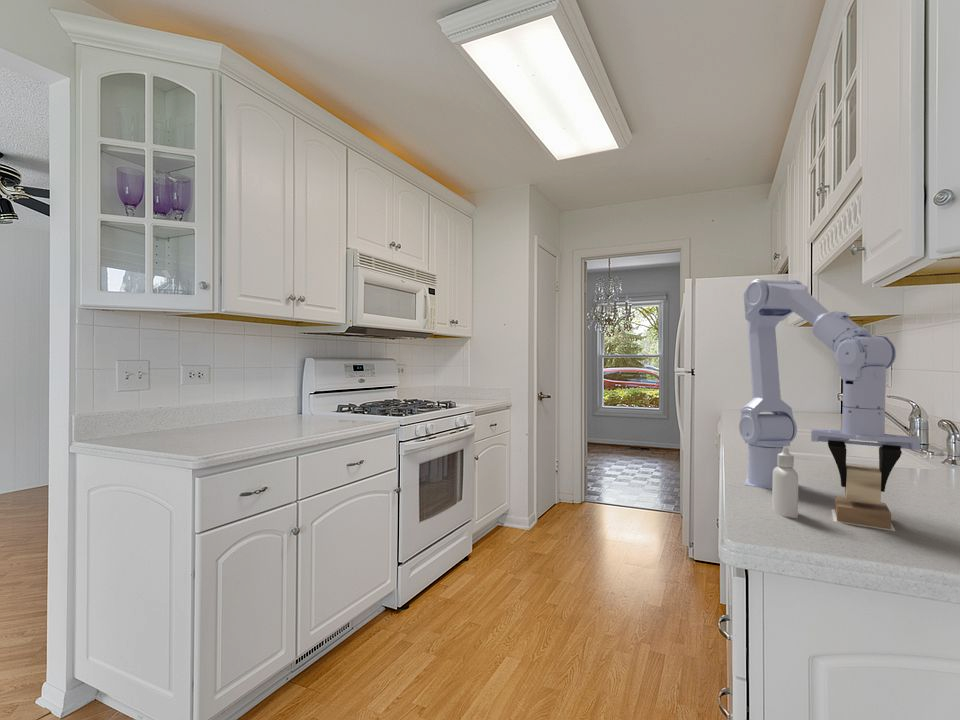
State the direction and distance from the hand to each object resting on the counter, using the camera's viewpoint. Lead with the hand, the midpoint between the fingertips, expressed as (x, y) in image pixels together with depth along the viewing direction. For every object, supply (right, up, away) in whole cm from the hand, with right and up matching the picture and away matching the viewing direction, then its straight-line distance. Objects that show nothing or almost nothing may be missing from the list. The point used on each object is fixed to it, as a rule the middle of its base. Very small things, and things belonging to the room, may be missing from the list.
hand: (861, 488), depth 85 cm
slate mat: (-1, -6, +3) cm, 7 cm away
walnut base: (0, -5, 0) cm, 5 cm away
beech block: (0, -2, 0) cm, 2 cm away
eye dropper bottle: (-11, -6, +4) cm, 13 cm away
